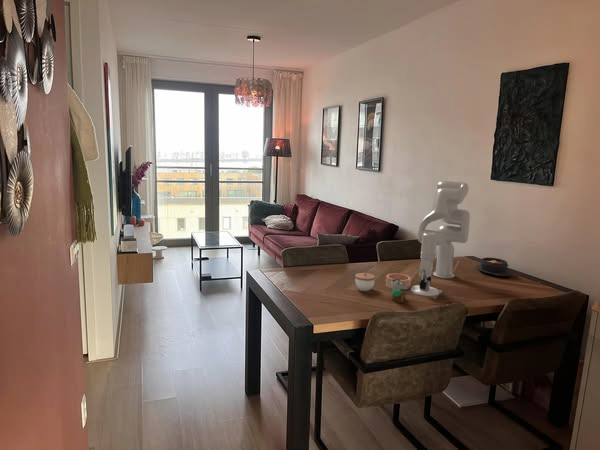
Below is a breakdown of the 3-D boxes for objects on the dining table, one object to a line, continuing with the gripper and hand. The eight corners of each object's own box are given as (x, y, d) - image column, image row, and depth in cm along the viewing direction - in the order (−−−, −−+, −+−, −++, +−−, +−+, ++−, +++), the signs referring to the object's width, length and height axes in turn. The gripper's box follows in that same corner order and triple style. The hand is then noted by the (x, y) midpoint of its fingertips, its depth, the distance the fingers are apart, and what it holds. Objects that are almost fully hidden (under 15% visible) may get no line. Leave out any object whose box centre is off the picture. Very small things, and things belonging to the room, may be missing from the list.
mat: (414, 285, 247) (414, 284, 247) (442, 291, 239) (443, 290, 239) (405, 293, 234) (405, 292, 234) (435, 299, 226) (435, 298, 226)
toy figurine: (386, 295, 229) (388, 277, 227) (398, 296, 230) (399, 277, 228) (393, 304, 217) (395, 285, 215) (405, 304, 217) (407, 285, 216)
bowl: (390, 282, 253) (391, 272, 252) (412, 286, 246) (413, 276, 245) (382, 287, 242) (383, 277, 241) (405, 292, 235) (406, 282, 234)
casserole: (518, 278, 270) (520, 265, 269) (492, 279, 266) (494, 266, 265) (492, 267, 294) (494, 255, 293) (468, 267, 290) (469, 255, 289)
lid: (414, 285, 246) (415, 275, 245) (441, 290, 239) (442, 280, 238) (406, 292, 234) (407, 281, 233) (435, 298, 226) (436, 287, 225)
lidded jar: (373, 293, 232) (374, 276, 230) (353, 291, 234) (354, 274, 232) (374, 287, 242) (375, 271, 241) (355, 285, 245) (356, 269, 243)
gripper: (425, 251, 242) (422, 281, 245) (416, 258, 227) (413, 289, 230) (438, 253, 238) (435, 283, 241) (430, 260, 224) (427, 292, 227)
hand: (425, 286), depth 236 cm, fingers open, 9 cm apart
